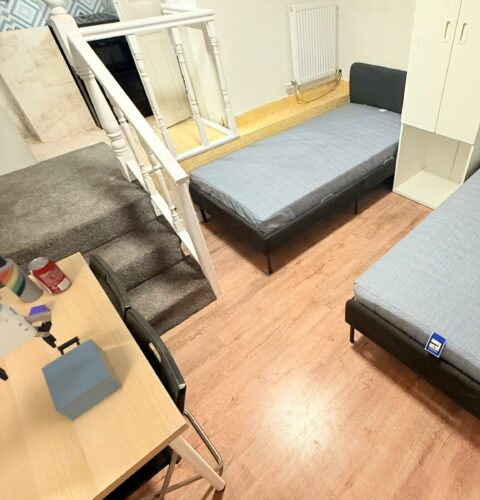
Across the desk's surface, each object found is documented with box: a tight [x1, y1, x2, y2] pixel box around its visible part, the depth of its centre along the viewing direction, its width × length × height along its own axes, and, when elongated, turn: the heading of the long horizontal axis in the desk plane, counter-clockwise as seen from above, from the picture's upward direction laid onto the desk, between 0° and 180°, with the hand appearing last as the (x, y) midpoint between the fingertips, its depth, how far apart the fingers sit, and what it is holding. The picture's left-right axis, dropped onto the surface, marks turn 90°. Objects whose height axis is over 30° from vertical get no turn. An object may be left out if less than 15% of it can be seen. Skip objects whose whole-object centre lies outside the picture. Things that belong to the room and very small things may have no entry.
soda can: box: [27, 256, 71, 295], centre depth 108 cm, size 7×7×12 cm
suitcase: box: [41, 338, 123, 422], centre depth 84 cm, size 14×12×9 cm
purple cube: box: [27, 304, 51, 316], centre depth 103 cm, size 4×4×3 cm
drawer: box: [44, 335, 91, 367], centre depth 87 cm, size 19×11×7 cm, turn 43°
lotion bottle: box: [0, 253, 43, 303], centre depth 103 cm, size 6×6×20 cm
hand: (30, 359), depth 74 cm, fingers open, 9 cm apart
